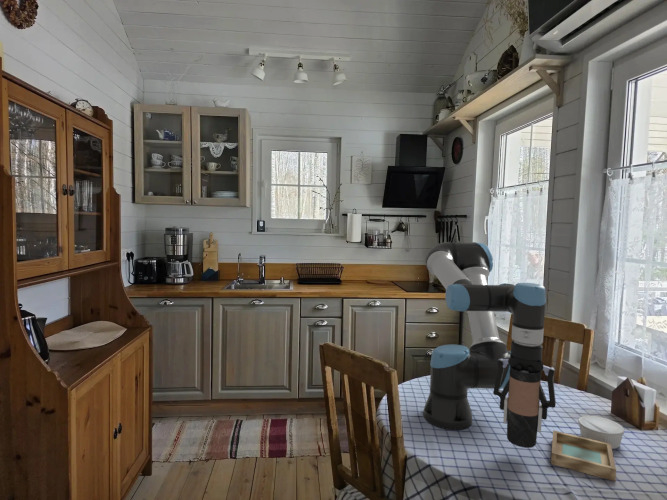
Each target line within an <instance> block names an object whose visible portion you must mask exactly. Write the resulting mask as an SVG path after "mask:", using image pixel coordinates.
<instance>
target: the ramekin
mask: <svg viewBox="0 0 667 500" xmlns="http://www.w3.org/2000/svg"><path fill="white" fill-rule="evenodd" d="M577 420H578V421H577V423H578V425H579V433H580V437H584V438H588V439H592V440H597V441H601V442H605V443H609V444H611V447H612V450H615V449H617V448H619V447H620V445H621V444H622V439H623V435H624V433H625V429H624V427H623V426H622V424H619V423H618V422H616V421H614V420H611V419H610V418H607V417H602V416H597V415H584V416H580V417H579V418H578V419H577Z"/></svg>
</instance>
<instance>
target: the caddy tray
mask: <svg viewBox="0 0 667 500" xmlns="http://www.w3.org/2000/svg"><path fill="white" fill-rule="evenodd" d="M551 442H552V443H551V460H550V461H551V462H550V464H551V465H554V466H557V467H562V468H565V469H568V470H573V471H575V472H580V473H583V474H587V475H590V476H595V477H598V478H602V479H605V480H609V481H613V482H616V480H617V479H616V475H617V474H616V473H617V468H616V463H615V458H614V454H613V449H612V447H611V444H609V443H605V442H601V441H597V440H592V439H588V438H584V437H582V436H578V435H575V434H570V433H567V432H566V433H565V432H562V431H557V430H554V429H553V430H552V441H551Z"/></svg>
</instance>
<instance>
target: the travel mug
mask: <svg viewBox="0 0 667 500" xmlns="http://www.w3.org/2000/svg"><path fill="white" fill-rule="evenodd" d="M509 379H510V382H509V391H508V393H507V397H508V408H507V423H506V438H507V440H508V442H509V443H511V444H513V445H514V446H517V447H520V448H526V449H529V448H530V449H531V448H533V447H534V448H535V446H536V444H537V439H538V438H537V437H538V415H539V404H541V402H540V399H539V385H540V383H541V379H542V371H541V372H539V373H529V371H525V370H521V371H517V370H514V369H513V368H511V366H510V376H509Z"/></svg>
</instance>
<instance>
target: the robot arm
mask: <svg viewBox="0 0 667 500" xmlns="http://www.w3.org/2000/svg"><path fill="white" fill-rule="evenodd" d="M424 259H425V260H424V261H425V262H424V263H425V267H426V269H427V270H428V271H429V273H430V274H432V275H433V276H435V277H436V278H437V279H438V281H439V282H440V283H441V286H443V288H444V289H445V297H444V298H445V303H446V307H447V308H448V309H449V310H450V311H459V312H467V316H468V322H469V328H470V333H471V339H472V343H471V345H470V346H469V348H468V347H467V346H465V345H462V344H454V343H453V344H452V343H451V344H443V345H440V346H439V345H438V346H437V347H436V348H434V349H433V350H432V351H431V356H430V357H431V359H430V363H429V365H430V376H429V377H430V378H429V379H430V380H429V382H430V383H429V386H430V387H429V394H428V397H427V400H426V402H425V404H424V407H423V418H424V419H425V421H426V422H428V423H429V424H430V425H432V426H435V427H438V428H440V429H445V430H454V431H455V430H464V429H468V428H469V427H470V426H471V425H472V424H473V412H472V408H471V406H470V402H469V399H468V392H469V391H468V390H469V389H482V390H483V389H487V390H489V389H491V390H493V391H492V392H493V395H495V396H497V397H499V409H500V410H502V411H503V422H502V423H503V424H505V425H507V408H508V392H509V382H510V379H509V376H510V366H511V368H513V369H514V370H517V371H521V370H525V371H529V373H539V372H541V373H542V371H544V375H545V376H547V377H546V378H547V388H548V398H549V400H548V399H547V397H546V394H545V392H544V389H543V386H542V385H541V383H540V385H539V399H540V404H539V415H538V429H537V433H541V432H542V423H543V420H547V418H548V409H549V408H553V409H554V408H556V392H555V384H554V375H555V367H553V366H547V365H544V363H543V345H542V344H543V343H544V333H545V332H544V330H545V327H544V326H545V314H546V302H547V298H546V287H545V286H544V285H543V284H539V283H531V282H519V283H516V284H515V285H514V284H513V283H504V282H503V283H499V284H488V280H487V279H488V277H489V275H490V273H491V272H492V270H493V267H494V262H493V261H494V257H493V253H492V250H491V249H490V247H489V246H488V245H487V244H485V243H482V242H475V241H474V242H457V241H456V242H451V241H444V242H441V243H437V244H435V245H434V246H432V247H431V248H430V249H429V250H428V251H427V253H426V256H425V258H424ZM495 312H498V313H499V312H501V313H503V312H505V313H506V312H507V313H510V314H512V322H511V339H512V341H511V343H510V350H508V348H507V343H505V342H504V341H503V340H501V338H500V334H499V330H498V325H497V322H496V318H495Z"/></svg>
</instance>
